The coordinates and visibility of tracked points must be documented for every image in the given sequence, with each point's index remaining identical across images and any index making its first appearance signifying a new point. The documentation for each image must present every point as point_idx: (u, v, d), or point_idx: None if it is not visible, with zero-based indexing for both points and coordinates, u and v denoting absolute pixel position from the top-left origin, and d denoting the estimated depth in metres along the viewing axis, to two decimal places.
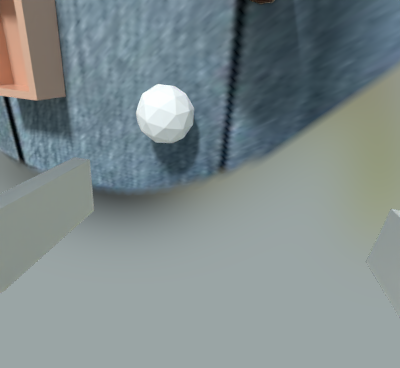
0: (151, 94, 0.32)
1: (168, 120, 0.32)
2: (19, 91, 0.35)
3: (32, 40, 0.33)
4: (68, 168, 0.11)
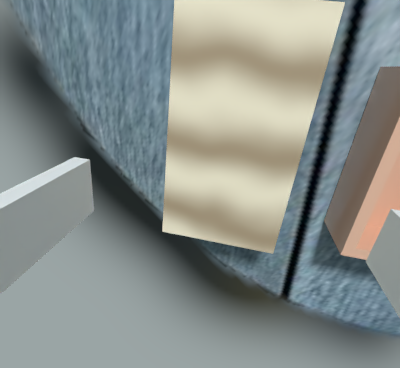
0: None
1: None
2: None
3: None
4: (68, 168, 0.11)
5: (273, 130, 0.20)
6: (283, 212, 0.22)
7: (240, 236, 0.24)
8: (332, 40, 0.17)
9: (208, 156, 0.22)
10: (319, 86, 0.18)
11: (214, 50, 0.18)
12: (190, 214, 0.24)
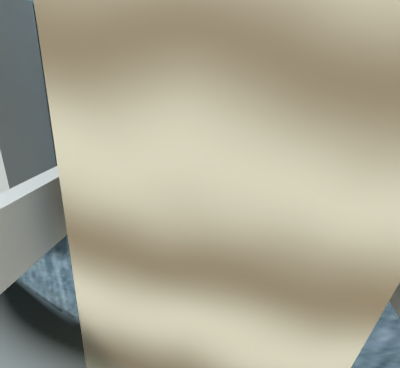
0: None
1: None
2: None
3: None
4: None
5: (324, 236, 0.08)
6: None
7: None
8: None
9: (163, 277, 0.09)
10: None
11: (156, 22, 0.06)
12: None
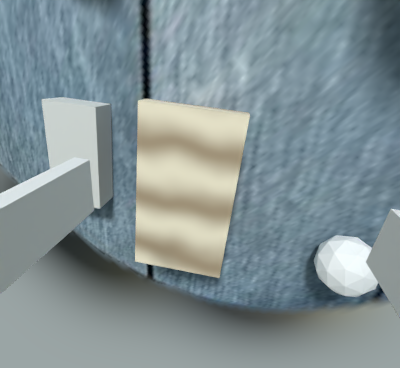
0: (351, 258, 0.31)
1: (369, 286, 0.31)
2: None
3: None
4: (68, 168, 0.11)
5: (211, 191, 0.28)
6: (223, 248, 0.30)
7: (194, 265, 0.32)
8: (244, 137, 0.25)
9: (167, 207, 0.29)
10: (239, 165, 0.26)
11: (167, 139, 0.26)
12: (156, 248, 0.32)
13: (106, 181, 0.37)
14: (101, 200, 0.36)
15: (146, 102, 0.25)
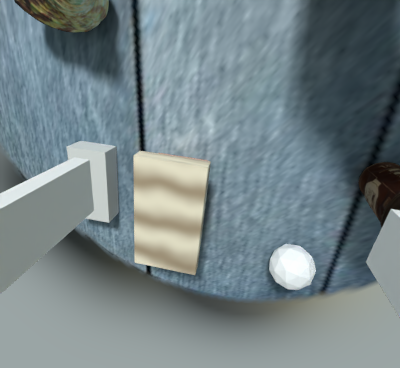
0: (290, 262, 0.42)
1: (304, 282, 0.42)
2: None
3: None
4: (68, 168, 0.11)
5: (186, 215, 0.40)
6: (197, 254, 0.42)
7: (177, 266, 0.44)
8: (205, 180, 0.37)
9: (155, 225, 0.41)
10: (203, 198, 0.38)
11: (154, 180, 0.38)
12: (149, 253, 0.44)
13: (113, 202, 0.49)
14: (110, 216, 0.49)
15: (139, 156, 0.37)
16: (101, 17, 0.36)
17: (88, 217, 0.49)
